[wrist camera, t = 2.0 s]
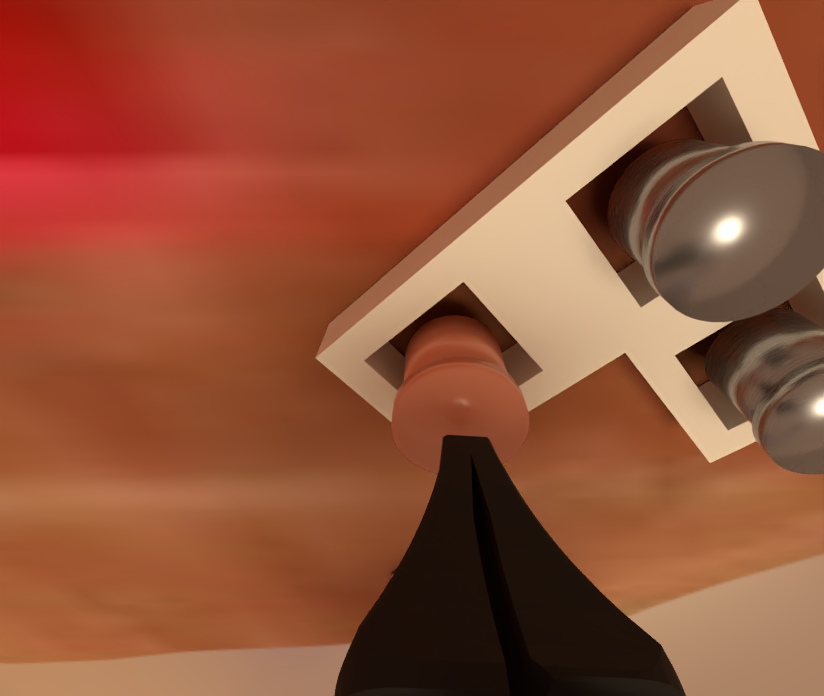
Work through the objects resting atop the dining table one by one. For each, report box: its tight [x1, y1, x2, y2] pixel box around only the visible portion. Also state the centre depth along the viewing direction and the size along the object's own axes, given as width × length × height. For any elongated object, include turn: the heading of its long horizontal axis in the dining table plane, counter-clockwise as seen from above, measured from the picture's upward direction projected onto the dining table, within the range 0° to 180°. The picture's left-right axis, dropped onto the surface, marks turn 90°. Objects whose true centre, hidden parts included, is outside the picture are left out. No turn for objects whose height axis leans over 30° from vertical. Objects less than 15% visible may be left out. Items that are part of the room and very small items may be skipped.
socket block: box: [316, 0, 824, 463], centre depth 19 cm, size 16×18×3 cm
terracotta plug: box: [391, 315, 529, 474], centre depth 17 cm, size 5×5×4 cm
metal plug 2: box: [705, 309, 824, 474], centre depth 16 cm, size 5×5×4 cm
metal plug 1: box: [607, 139, 824, 322], centre depth 13 cm, size 5×5×4 cm
